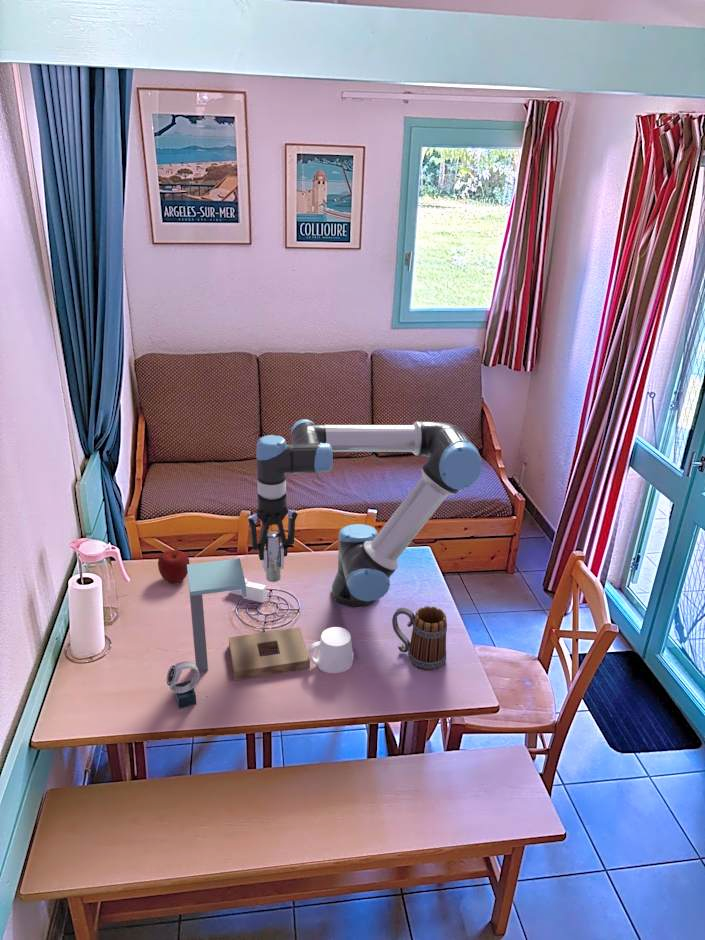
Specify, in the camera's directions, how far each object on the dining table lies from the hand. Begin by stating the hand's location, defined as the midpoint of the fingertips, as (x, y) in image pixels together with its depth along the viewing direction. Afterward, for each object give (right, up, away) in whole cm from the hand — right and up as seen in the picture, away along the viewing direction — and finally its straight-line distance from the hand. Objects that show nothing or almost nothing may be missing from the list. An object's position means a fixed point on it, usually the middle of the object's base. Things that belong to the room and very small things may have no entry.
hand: (273, 567), depth 201 cm
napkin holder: (-10, -12, +23) cm, 28 cm away
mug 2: (+40, -25, 0) cm, 47 cm away
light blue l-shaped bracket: (-13, -25, -5) cm, 29 cm away
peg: (0, -3, +2) cm, 4 cm away
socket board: (-1, -24, -2) cm, 24 cm away
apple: (-34, -8, +28) cm, 45 cm away
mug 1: (+16, -26, -4) cm, 31 cm away
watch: (-20, -31, -17) cm, 41 cm away
